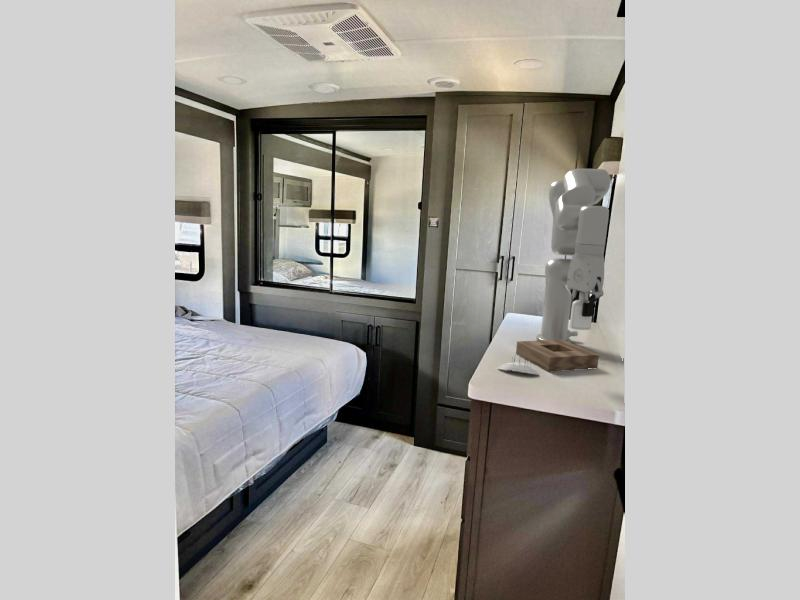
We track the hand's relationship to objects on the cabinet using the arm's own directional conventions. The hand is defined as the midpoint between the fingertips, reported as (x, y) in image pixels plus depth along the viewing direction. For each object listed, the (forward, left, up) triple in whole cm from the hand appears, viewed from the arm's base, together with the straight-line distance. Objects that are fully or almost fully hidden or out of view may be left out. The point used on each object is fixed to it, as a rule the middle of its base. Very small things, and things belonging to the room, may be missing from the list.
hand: (581, 313), depth 128 cm
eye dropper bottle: (0, 0, -5) cm, 5 cm away
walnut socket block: (-3, -14, -19) cm, 23 cm away
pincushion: (+15, -6, -19) cm, 25 cm away
